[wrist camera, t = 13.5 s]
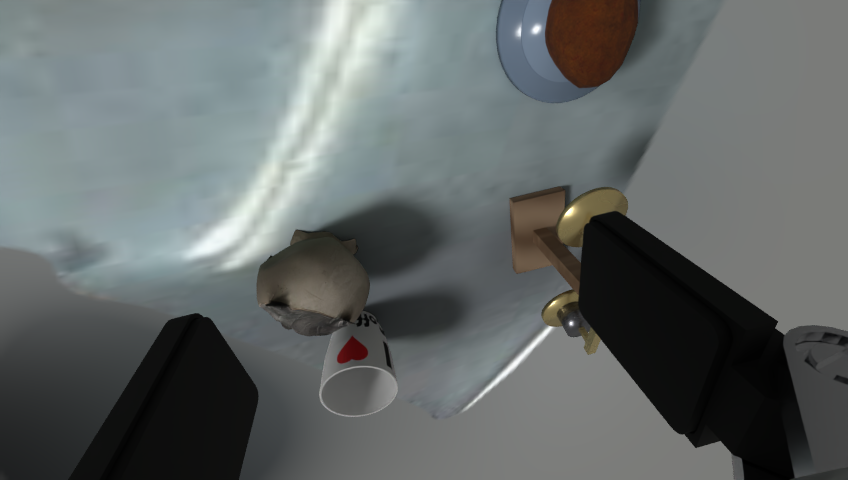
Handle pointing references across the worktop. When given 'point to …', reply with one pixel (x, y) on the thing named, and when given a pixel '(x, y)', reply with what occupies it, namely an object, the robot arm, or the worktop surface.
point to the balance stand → (541, 235)
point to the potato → (590, 38)
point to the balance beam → (571, 233)
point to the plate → (531, 52)
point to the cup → (358, 370)
